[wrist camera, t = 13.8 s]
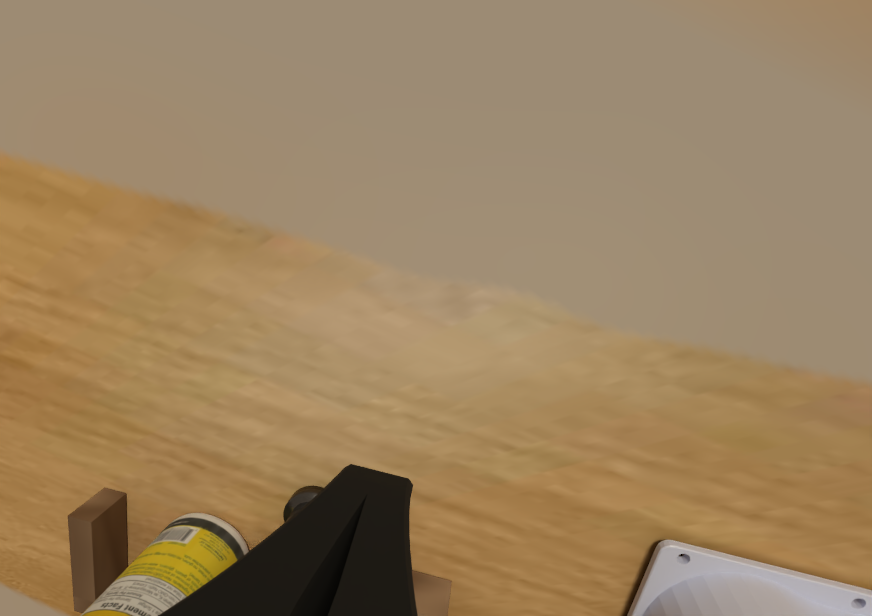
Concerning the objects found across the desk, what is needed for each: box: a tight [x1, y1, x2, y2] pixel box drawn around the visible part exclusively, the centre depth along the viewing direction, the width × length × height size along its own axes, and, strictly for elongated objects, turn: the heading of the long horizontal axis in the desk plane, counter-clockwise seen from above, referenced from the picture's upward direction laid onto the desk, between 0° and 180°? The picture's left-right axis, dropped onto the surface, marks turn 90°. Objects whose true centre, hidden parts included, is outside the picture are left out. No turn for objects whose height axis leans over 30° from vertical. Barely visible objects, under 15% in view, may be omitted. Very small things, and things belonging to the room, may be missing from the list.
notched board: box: [68, 488, 452, 616], centre depth 22 cm, size 18×6×2 cm, turn 79°
